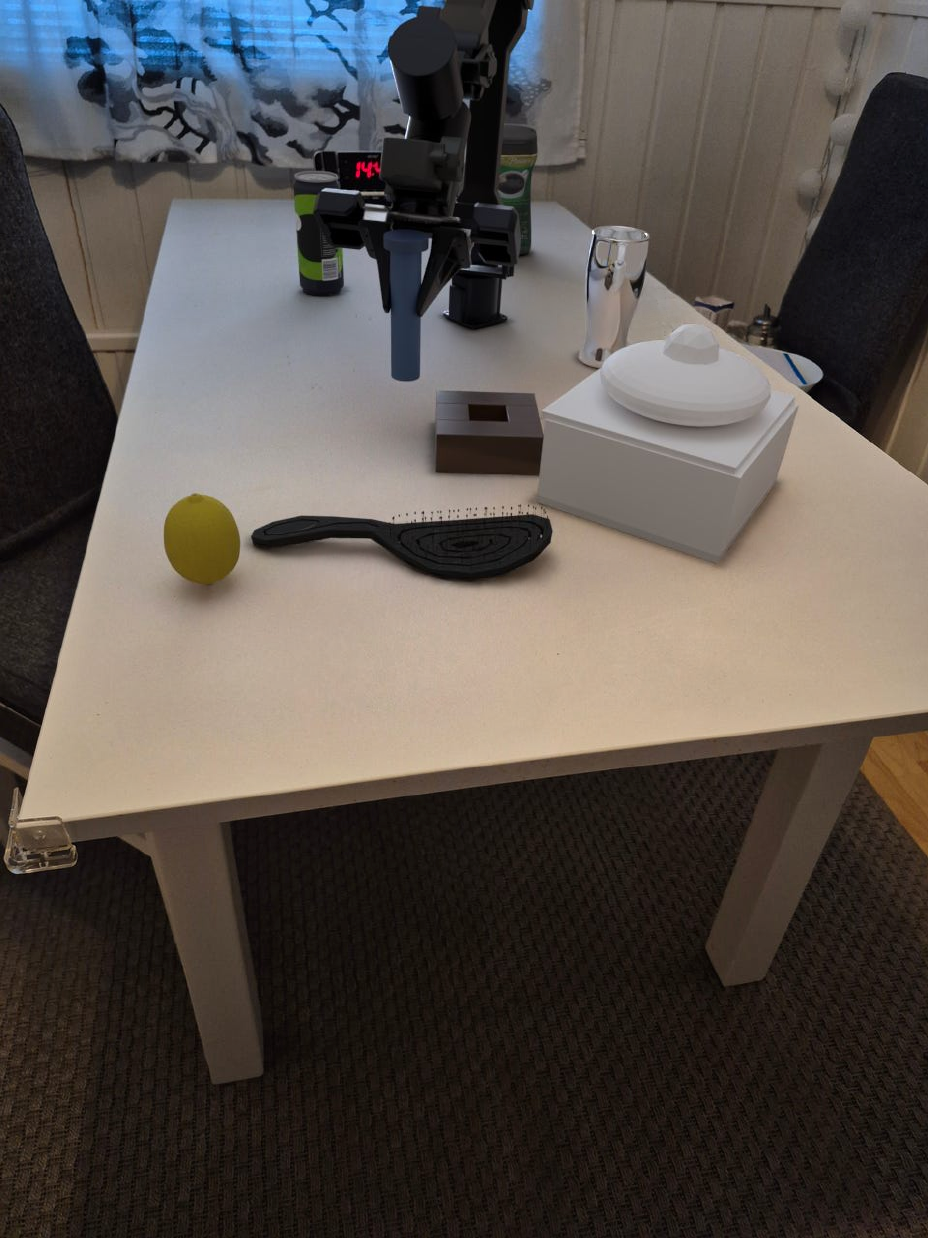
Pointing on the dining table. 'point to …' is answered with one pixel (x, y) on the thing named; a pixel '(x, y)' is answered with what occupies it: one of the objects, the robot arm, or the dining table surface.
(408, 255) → the peg
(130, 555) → the dining table surface
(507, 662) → the dining table surface
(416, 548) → the hairbrush
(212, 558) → the lemon
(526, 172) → the coffee jar
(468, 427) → the stand
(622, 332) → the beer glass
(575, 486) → the white lidded box
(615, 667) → the dining table surface
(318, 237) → the beverage can
